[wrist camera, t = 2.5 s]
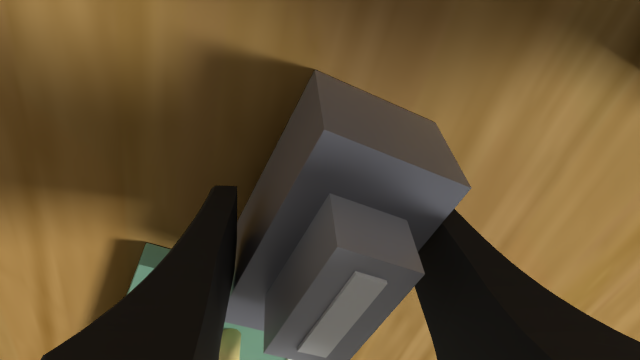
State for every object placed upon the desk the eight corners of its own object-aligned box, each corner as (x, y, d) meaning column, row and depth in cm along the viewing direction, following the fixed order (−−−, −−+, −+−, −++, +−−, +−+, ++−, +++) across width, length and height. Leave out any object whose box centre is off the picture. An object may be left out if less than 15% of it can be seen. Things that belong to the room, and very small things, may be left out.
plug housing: (435, 122, 14) (501, 243, 10) (328, 272, 17) (344, 406, 13) (315, 69, 13) (332, 182, 8) (226, 243, 16) (208, 381, 12)
